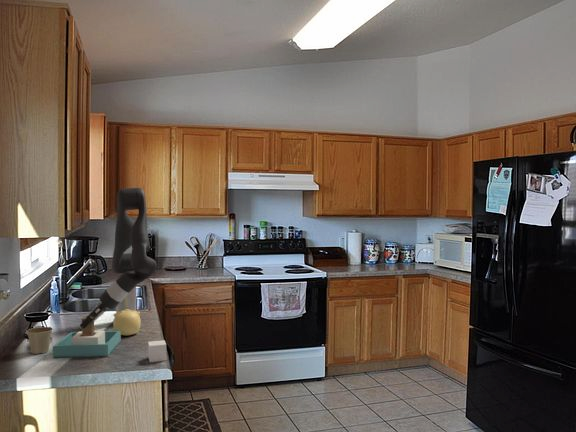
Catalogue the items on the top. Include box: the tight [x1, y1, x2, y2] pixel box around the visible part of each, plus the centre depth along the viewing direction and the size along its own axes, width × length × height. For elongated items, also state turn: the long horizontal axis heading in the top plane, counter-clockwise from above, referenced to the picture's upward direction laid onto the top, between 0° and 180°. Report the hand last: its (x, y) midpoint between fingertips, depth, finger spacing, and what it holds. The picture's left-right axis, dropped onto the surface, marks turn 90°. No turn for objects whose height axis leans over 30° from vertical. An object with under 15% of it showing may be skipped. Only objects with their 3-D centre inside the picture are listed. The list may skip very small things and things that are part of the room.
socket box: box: [52, 330, 122, 359], centre depth 200 cm, size 20×20×6 cm
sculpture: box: [112, 309, 142, 336], centre depth 223 cm, size 12×12×11 cm
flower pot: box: [25, 326, 54, 355], centre depth 198 cm, size 9×9×9 cm
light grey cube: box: [147, 339, 167, 363], centre depth 188 cm, size 6×6×6 cm
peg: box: [81, 316, 95, 336], centre depth 200 cm, size 4×4×12 cm
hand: (85, 324), depth 200 cm, fingers open, 8 cm apart
